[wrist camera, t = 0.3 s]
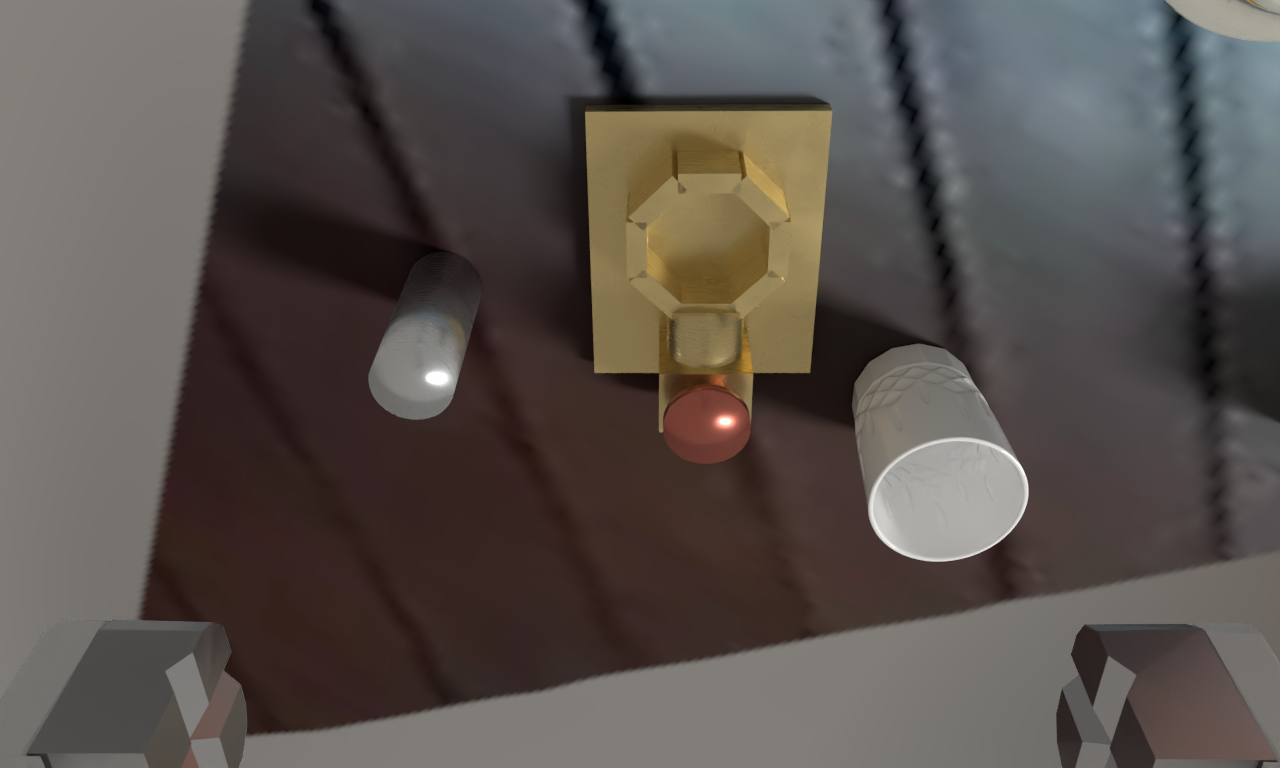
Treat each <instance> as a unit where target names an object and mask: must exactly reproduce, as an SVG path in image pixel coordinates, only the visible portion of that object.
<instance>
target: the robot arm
mask: <svg viewBox="0 0 1280 768" xmlns="http://www.w3.org/2000/svg"><path fill="white" fill-rule="evenodd" d="M230 653H231V649H230V646H229V643H228V640H227V637H226V634H225V631H224V628H223V626H221V625H218V624H215V623H211V622H175V621H139V620H112V621H97V620H96V621H95V620H67V619H66V620H64V619H60V620H59V621H57V622H56V623H54V624H53V625H51V626H50V627H48V628H47V629H46V630H45V631H44V632H43V634H42V635H41V637H40V639H39V640H38V641H37V643H36V645H35V646H34V648H33V649H32V651H31V652H30V654H29V656H28V657H27V659H26V660H25V662H24V663H23V665H22V666H21V668H20V669H19V671H18V672H17V674H16V676H15V677H14V679H13V680H12V682H11V683H10V685H9V686H8V688H7V690H6V691H5V693H4V694H3V696H2V697H1V699H0V768H239V765H240V762H241V759H242V757H243V750H244V743H245V737H246V730H247V717H246V703H245V699H244V695H243V691H242V688H241V685H240V684H239V683H238V682H237V681H236V680H234V679H233V678H232V677H231V676H229V675H228V674H227V673H226V672H225V671H223V670H224V668H225V665H226V663H227V660H228V658H229V656H230ZM1071 655H1072V658H1073V661H1074V663H1075V665H1076V668H1077V670H1078V673H1079V675H1078V676H1077V677H1075V678H1074V679H1073V680H1072V681H1070V682H1069V683H1068V684H1067V685H1065V686H1064V687H1063V688H1062V691H1061V695H1060V700H1059V705H1058V709H1057V713H1056V721H1057V745H1058V750H1059V755H1060V760H1061V765H1062V768H1280V663H1279V661H1278V660H1277V658H1276V656H1275V655H1274V653H1273V652H1272V650H1271V649H1270V647H1269V645H1268V644H1267V642H1266V641H1265V639H1264V638H1263V636H1262V634H1261V633H1260V631H1258V630H1257V629H1256V628H1254V627H1253V626H1251V625H1250V624H1248V623H1239V624H1238V623H1237V624H1236V623H1234V624H1233V623H1231V624H1230V623H1228V624H1192V625H1187V624H1121V625H1120V624H1119V625H1118V624H1116V625H1084V626H1083V627H1082V629H1081V630H1080V631H1079V633H1078V634H1077V636H1076V639H1075V643H1074V646H1073V650H1072V653H1071Z"/></svg>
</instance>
